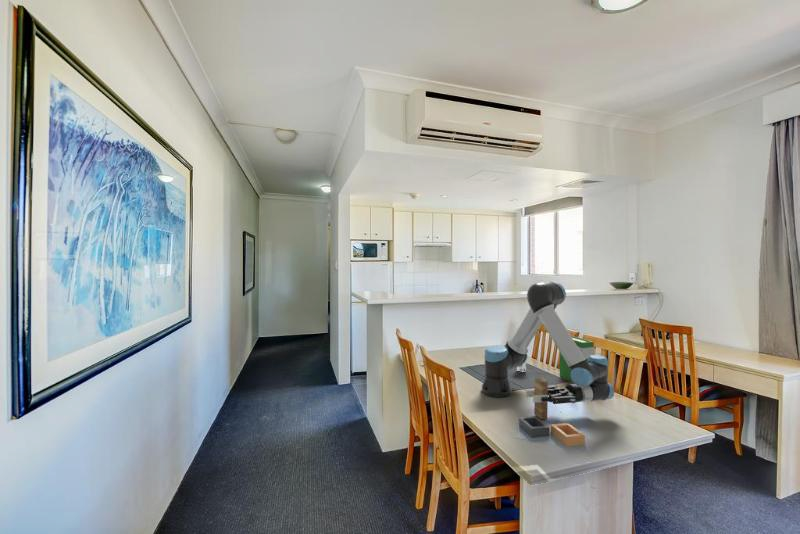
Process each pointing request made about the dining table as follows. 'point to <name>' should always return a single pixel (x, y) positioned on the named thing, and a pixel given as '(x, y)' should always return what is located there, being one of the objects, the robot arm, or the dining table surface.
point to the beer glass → (522, 367)
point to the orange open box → (571, 439)
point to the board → (547, 439)
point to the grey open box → (536, 431)
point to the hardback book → (586, 350)
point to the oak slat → (541, 389)
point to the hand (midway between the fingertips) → (529, 396)
